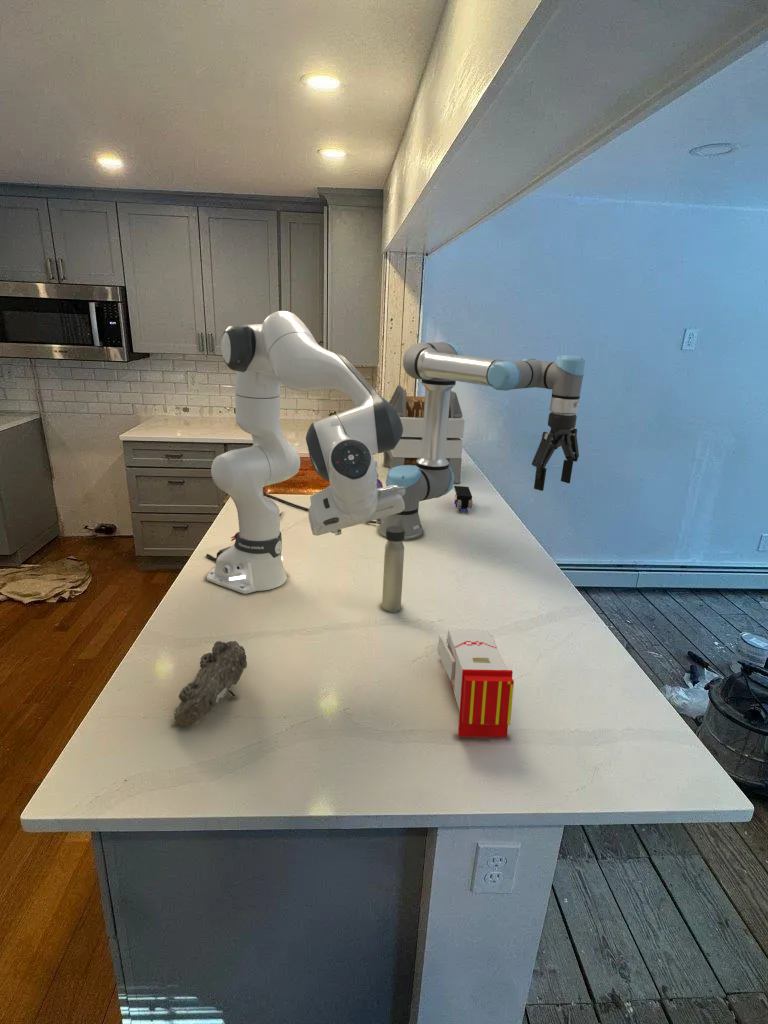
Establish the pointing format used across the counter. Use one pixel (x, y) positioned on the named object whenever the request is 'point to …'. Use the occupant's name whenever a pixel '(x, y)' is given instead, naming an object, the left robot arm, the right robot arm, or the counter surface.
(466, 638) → the toy
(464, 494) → the figurine character
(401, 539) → the cap
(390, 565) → the bottle
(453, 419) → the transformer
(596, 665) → the counter surface
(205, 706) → the fossil
